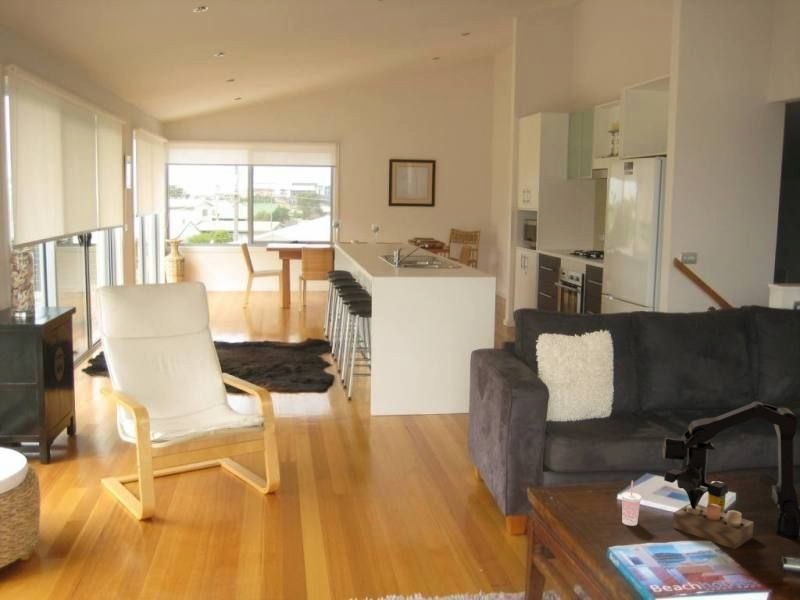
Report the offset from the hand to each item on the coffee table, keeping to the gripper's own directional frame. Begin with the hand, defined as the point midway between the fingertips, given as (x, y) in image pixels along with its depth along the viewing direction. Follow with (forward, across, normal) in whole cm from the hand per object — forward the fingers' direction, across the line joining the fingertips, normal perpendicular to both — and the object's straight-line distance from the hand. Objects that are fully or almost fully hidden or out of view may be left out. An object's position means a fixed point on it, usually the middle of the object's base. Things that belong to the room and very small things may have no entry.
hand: (693, 508), depth 255 cm
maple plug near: (+2, +13, 0) cm, 13 cm away
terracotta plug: (+2, +7, 0) cm, 7 cm away
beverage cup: (+6, -14, -13) cm, 20 cm away
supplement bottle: (+6, 0, +17) cm, 18 cm away
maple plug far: (+5, 0, 0) cm, 5 cm away
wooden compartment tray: (+6, +6, 0) cm, 9 cm away
